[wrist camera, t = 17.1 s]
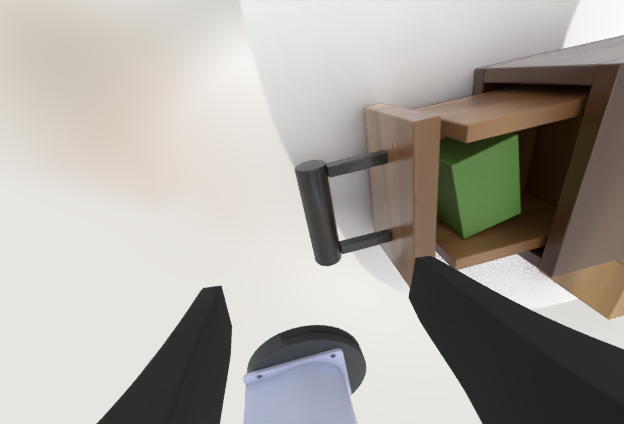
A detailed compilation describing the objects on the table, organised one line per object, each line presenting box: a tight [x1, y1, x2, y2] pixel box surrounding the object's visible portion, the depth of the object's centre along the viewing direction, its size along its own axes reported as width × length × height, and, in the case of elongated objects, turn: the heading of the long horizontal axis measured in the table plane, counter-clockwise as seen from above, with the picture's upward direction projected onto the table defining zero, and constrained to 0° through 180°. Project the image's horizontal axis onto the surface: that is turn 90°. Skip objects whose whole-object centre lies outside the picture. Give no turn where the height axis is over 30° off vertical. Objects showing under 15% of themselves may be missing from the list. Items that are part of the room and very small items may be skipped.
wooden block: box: [540, 258, 624, 320], centre depth 23 cm, size 6×5×6 cm
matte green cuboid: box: [437, 133, 521, 239], centre depth 16 cm, size 5×4×3 cm
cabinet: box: [473, 35, 624, 278], centre depth 16 cm, size 13×11×8 cm
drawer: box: [295, 84, 592, 287], centre depth 15 cm, size 16×9×6 cm, turn 100°
